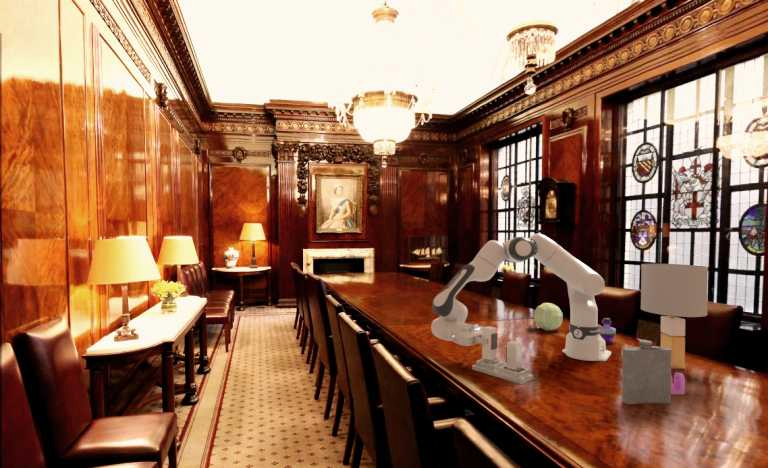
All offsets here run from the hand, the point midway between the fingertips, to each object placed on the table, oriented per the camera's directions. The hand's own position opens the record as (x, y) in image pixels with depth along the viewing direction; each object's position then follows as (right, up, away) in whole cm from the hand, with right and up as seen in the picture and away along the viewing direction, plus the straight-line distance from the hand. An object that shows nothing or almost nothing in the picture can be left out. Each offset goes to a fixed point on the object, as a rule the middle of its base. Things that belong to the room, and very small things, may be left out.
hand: (491, 340), depth 168 cm
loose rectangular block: (-1, -7, +1) cm, 7 cm away
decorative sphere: (+50, -12, +70) cm, 87 cm away
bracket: (+58, -13, -16) cm, 62 cm away
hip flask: (+43, -13, -29) cm, 54 cm away
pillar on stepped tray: (+3, -12, -3) cm, 13 cm away
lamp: (+78, -13, +8) cm, 79 cm away
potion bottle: (+70, -12, +45) cm, 84 cm away
